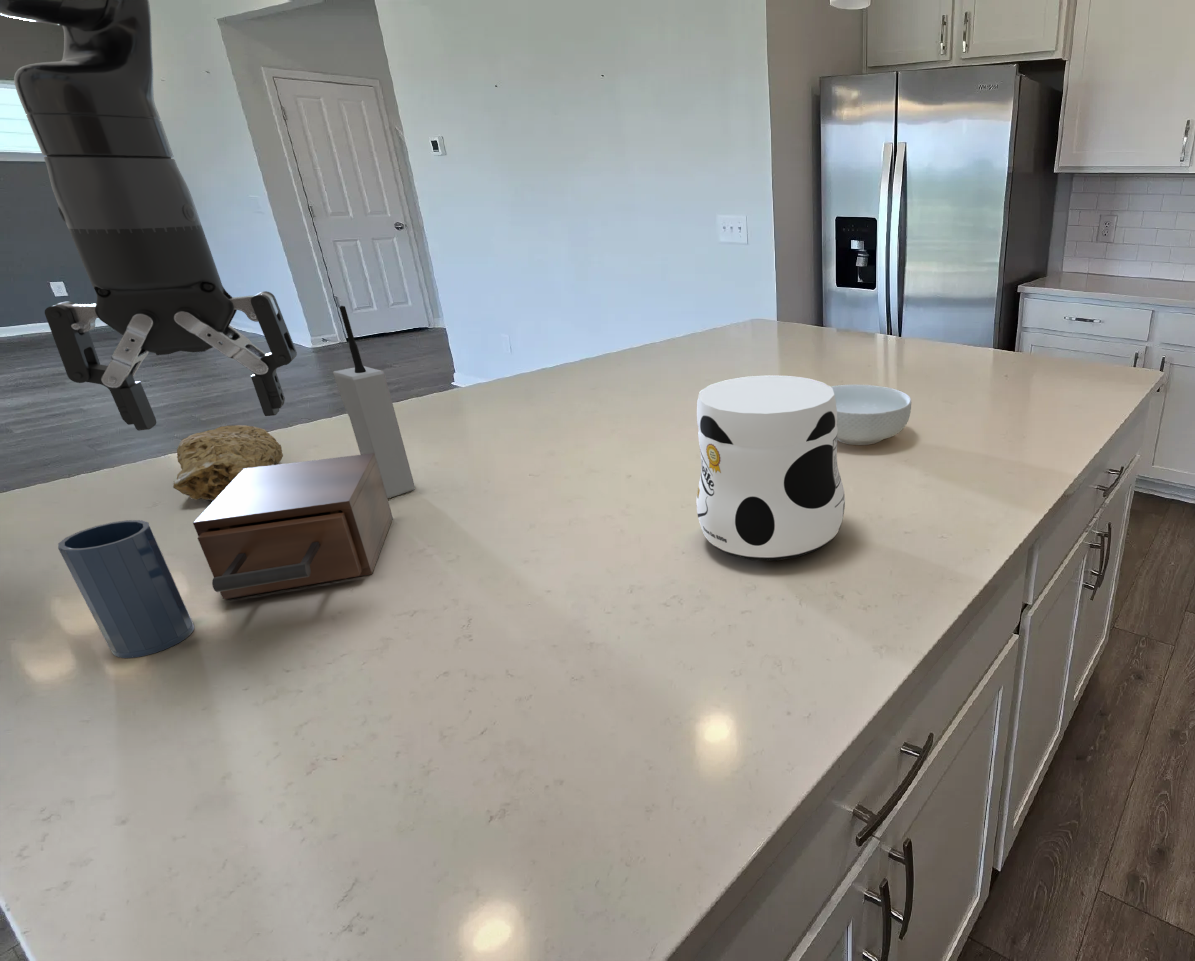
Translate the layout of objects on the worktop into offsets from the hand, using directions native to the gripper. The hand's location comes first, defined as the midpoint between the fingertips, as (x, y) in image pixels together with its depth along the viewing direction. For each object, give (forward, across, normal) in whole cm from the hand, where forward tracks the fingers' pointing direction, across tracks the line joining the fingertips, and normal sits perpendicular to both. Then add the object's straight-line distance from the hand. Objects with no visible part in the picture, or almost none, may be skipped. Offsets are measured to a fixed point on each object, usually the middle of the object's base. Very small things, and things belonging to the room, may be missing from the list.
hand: (211, 420), depth 61 cm
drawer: (+19, 0, -8) cm, 21 cm away
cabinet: (+20, -1, -13) cm, 24 cm away
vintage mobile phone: (+20, -7, -30) cm, 37 cm away
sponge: (+20, +14, -44) cm, 50 cm away
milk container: (+20, -49, +6) cm, 53 cm away
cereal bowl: (+20, -74, -21) cm, 80 cm away
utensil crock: (+20, +10, 0) cm, 22 cm away
